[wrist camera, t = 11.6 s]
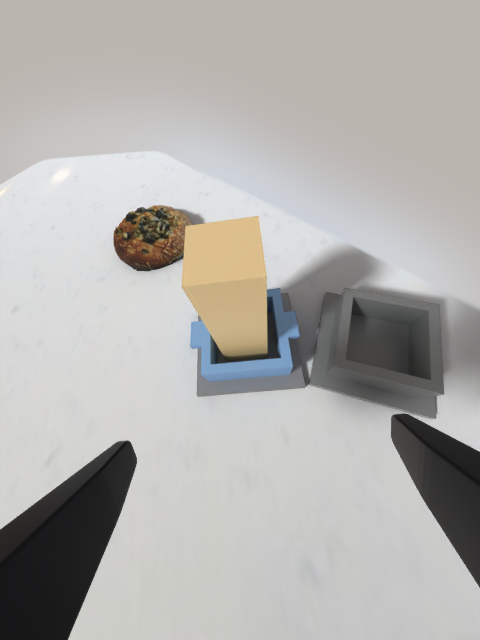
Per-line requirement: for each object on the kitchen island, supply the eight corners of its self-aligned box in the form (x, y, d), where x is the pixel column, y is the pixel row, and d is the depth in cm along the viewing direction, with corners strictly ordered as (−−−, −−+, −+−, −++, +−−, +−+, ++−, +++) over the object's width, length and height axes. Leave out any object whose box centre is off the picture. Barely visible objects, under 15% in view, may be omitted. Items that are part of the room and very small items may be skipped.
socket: (431, 419, 19) (464, 416, 16) (308, 384, 21) (316, 376, 18) (428, 314, 23) (454, 295, 20) (324, 295, 25) (333, 275, 22)
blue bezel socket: (304, 387, 21) (310, 380, 18) (198, 396, 22) (186, 390, 19) (287, 296, 25) (290, 276, 22) (200, 305, 26) (190, 288, 23)
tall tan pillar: (267, 357, 22) (266, 276, 10) (226, 361, 22) (181, 286, 11) (263, 320, 24) (258, 215, 12) (225, 324, 24) (185, 226, 12)
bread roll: (107, 273, 30) (83, 241, 26) (136, 222, 36) (120, 190, 32) (189, 275, 29) (178, 242, 25) (205, 223, 35) (198, 189, 31)
